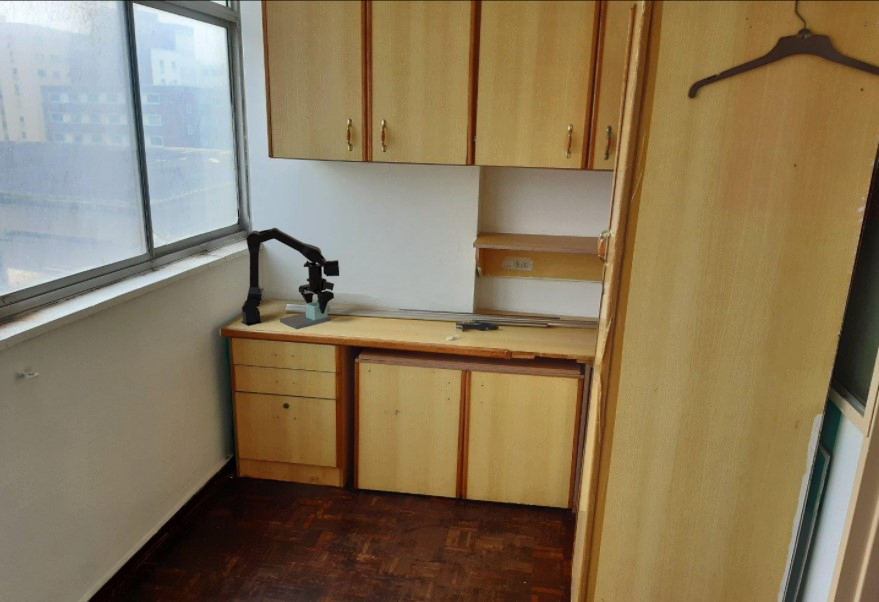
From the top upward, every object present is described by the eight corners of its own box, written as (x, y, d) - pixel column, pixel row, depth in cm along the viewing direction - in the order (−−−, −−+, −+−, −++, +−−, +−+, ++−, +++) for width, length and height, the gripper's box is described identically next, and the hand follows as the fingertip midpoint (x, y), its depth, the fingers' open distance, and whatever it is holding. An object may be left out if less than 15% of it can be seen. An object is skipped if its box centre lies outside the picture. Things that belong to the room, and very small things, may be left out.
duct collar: (306, 317, 281) (305, 303, 279) (324, 312, 287) (324, 299, 286) (314, 320, 276) (314, 307, 275) (333, 315, 283) (333, 302, 281)
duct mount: (296, 329, 270) (295, 314, 268) (279, 321, 278) (279, 307, 277) (329, 320, 281) (329, 306, 279) (313, 313, 290) (312, 300, 288)
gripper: (343, 277, 275) (344, 312, 279) (318, 269, 287) (319, 302, 292) (321, 281, 267) (323, 317, 272) (297, 273, 280) (298, 307, 284)
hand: (316, 311), depth 280 cm, fingers open, 9 cm apart
